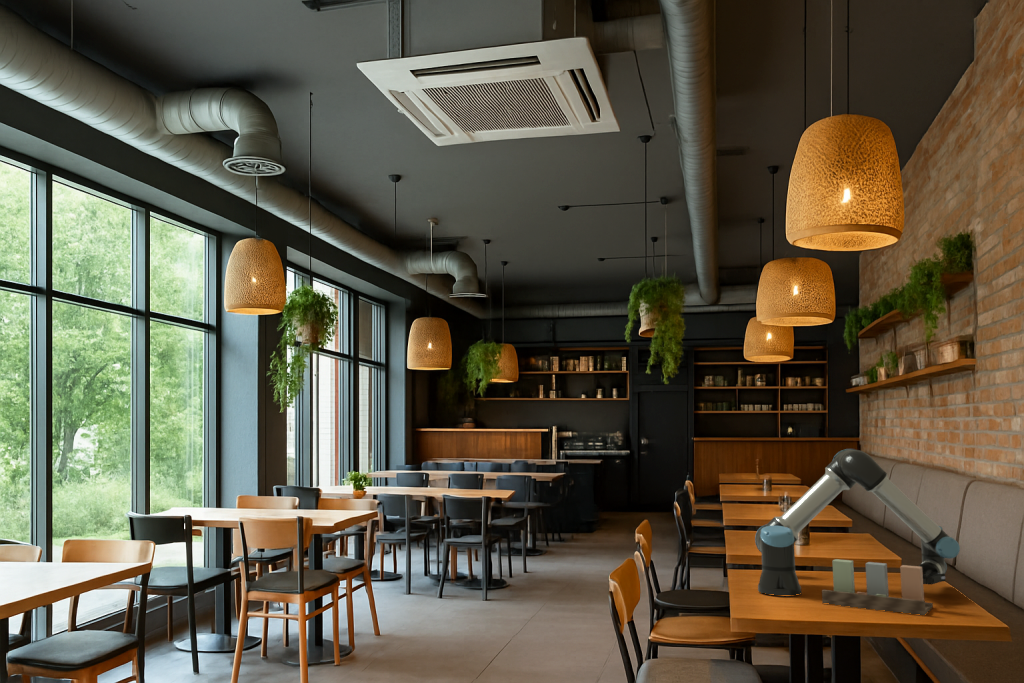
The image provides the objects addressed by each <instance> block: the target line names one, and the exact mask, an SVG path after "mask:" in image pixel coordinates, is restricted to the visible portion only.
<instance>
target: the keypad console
mask: <svg viewBox="0 0 1024 683" xmlns="http://www.w3.org/2000/svg"><path fill="white" fill-rule="evenodd" d="M821 596H822V597H821V602H822V604H823V603H829V604H835V605H834V606H836V605H841V606H840V607H845V606H850V607H849V608H853V607H858V608H857V609H861V608H866V609H865V610H870V609H875V610H874V611H878V610H885V611H884V612H886V611H893V612H892V613H895V612H903V613H911V614H920V615H925V614H926V613H927V612H928V611H929V610H930V609H931V608H932V607H933V608H934V604H933V602H927V601H926V600H924V601H922V600H913V599H904V598H902V597H893V596H889V597H887V595H883V594H876V595H867V592H863V591H862V592H861V591H857V592H855V593H849V592H840V591H834V590H829V589H822V590H821ZM933 608H932V609H933ZM932 609H931V610H932ZM931 610H930V611H931ZM930 611H929V612H930ZM929 612H928V613H929ZM903 613H902V614H903ZM928 613H927V614H928ZM911 614H910V615H911ZM920 615H919V616H920Z"/></svg>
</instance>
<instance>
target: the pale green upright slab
mask: <svg viewBox="0 0 1024 683" xmlns="http://www.w3.org/2000/svg"><path fill="white" fill-rule="evenodd" d="M831 563H832V580H833V591H840V592H849V593H856V591H855V589H856V588H855V587H856V585H855V570H854V560H852V559H851V560H849V559H838V558H836V559H835V558H834V559H833V560H832V562H831Z"/></svg>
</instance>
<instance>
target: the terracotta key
mask: <svg viewBox="0 0 1024 683" xmlns="http://www.w3.org/2000/svg"><path fill="white" fill-rule="evenodd" d="M899 570H900V584H901V585H900V587H901V588H900V590H901V598H904V599H913V600H922V601H925V592H924V584H923V572H922V567H919V565H918V566H917V565H906V564H902V565H901V566H900V567H899Z"/></svg>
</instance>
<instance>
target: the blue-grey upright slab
mask: <svg viewBox="0 0 1024 683" xmlns="http://www.w3.org/2000/svg"><path fill="white" fill-rule="evenodd" d="M888 577H889V576H888V564H887V563H884V562H883V563H882V562H873V561H868V562H866V563H865V578H866V579H865V580H866V593H867V595H876V594H883V595H887V597H890V596H889V580H888Z"/></svg>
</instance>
